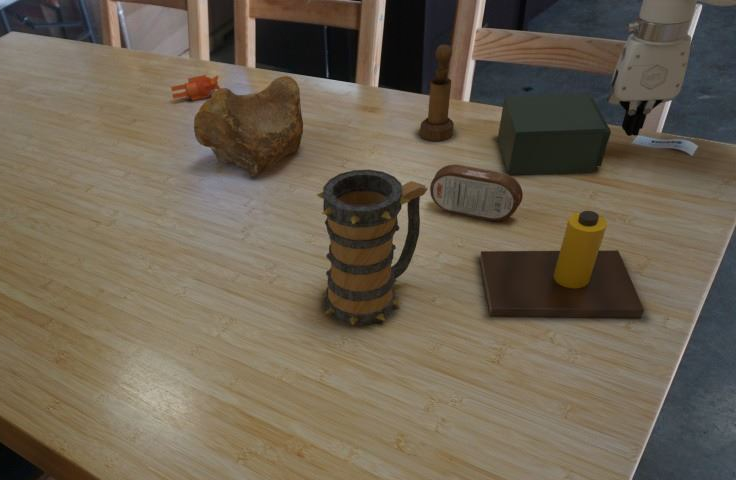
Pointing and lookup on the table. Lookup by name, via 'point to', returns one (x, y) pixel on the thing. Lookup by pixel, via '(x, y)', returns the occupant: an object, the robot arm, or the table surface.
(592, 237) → the yellow bottle
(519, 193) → the tin
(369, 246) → the mug
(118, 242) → the table surface
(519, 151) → the cabinet
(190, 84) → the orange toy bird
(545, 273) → the board
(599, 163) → the drawer
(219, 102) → the rough brown rock
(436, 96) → the mortar and pestle
